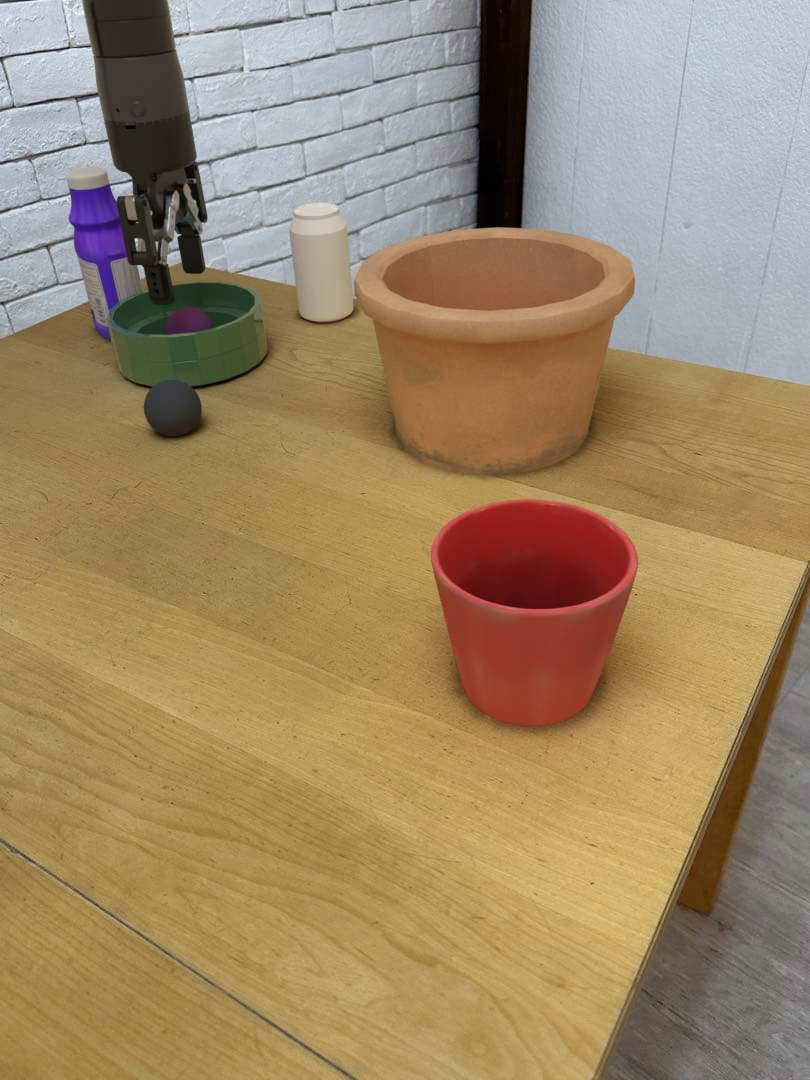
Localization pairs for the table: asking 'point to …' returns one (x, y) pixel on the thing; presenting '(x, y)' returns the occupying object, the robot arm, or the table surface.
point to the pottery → (493, 342)
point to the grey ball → (172, 408)
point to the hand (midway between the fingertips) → (179, 287)
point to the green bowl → (189, 335)
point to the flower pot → (532, 604)
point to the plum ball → (187, 321)
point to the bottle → (100, 244)
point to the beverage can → (321, 262)
